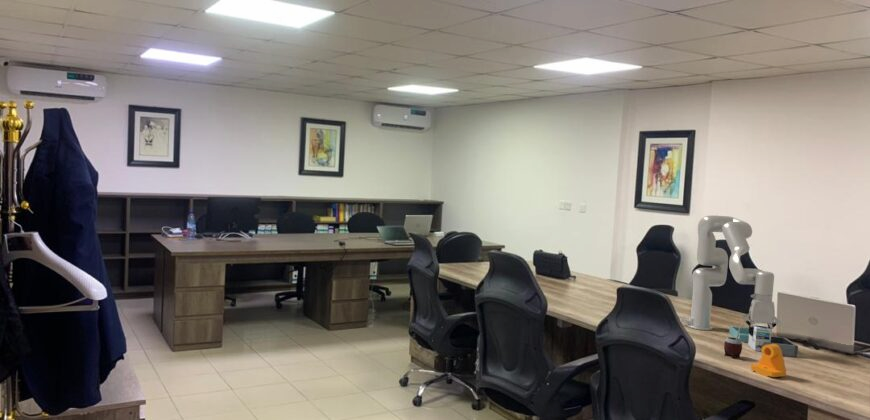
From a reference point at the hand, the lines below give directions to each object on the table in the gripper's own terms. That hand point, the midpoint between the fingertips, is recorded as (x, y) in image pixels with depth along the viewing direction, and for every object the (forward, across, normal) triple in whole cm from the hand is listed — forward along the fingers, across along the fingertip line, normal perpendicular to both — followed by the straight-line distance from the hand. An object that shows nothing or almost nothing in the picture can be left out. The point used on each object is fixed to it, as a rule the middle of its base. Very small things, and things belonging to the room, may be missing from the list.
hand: (759, 335), depth 291 cm
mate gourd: (+7, -17, -20) cm, 27 cm away
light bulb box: (+7, 0, 0) cm, 7 cm away
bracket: (+7, -10, -43) cm, 44 cm away
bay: (+6, +6, 0) cm, 9 cm away
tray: (+6, +2, +20) cm, 21 cm away
